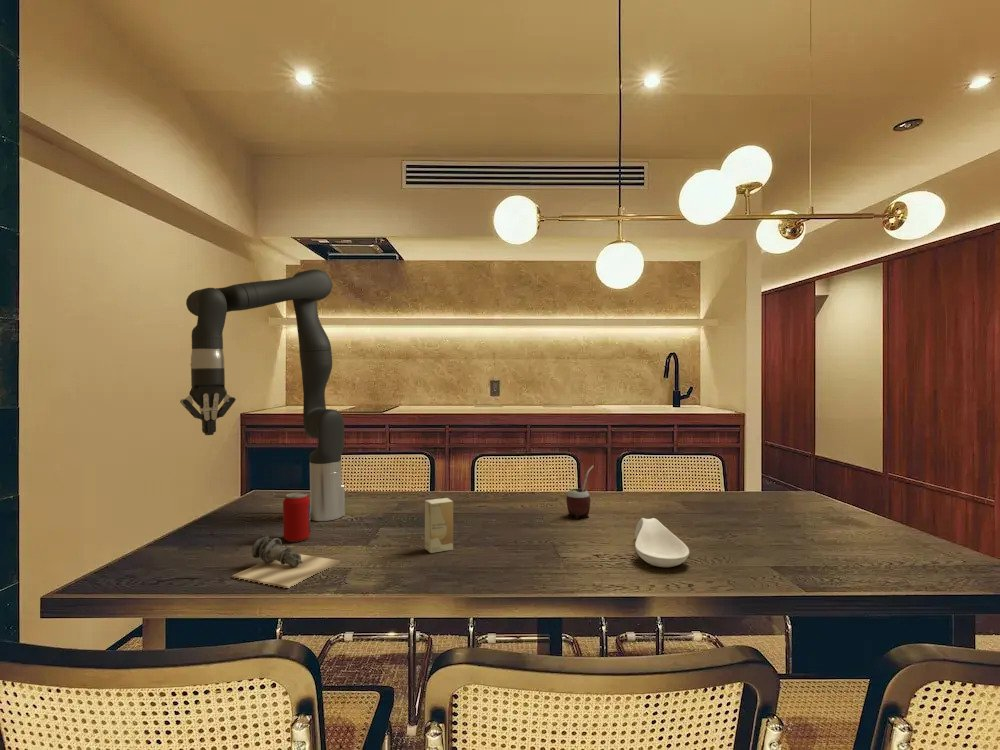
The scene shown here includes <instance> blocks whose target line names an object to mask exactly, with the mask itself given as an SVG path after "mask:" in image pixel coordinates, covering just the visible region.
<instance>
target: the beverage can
mask: <svg viewBox="0 0 1000 750" xmlns="http://www.w3.org/2000/svg"><path fill="white" fill-rule="evenodd" d="M310 511H311V510H310V497H309V495H308V493H307V492H304V491H303V492H292V493H288V494H285V498H284V500H283V502H282V512H283V517H282V518H283V519H282V520H283V521H282V522H283V523H282V524H283V539H284V540H286V541H287V542H288V543H299V541H300V542H304V541H306V540H307V539H308V538H310V537H311V514H310ZM303 540H304V541H303Z"/></svg>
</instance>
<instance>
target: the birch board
mask: <svg viewBox="0 0 1000 750" xmlns="http://www.w3.org/2000/svg"><path fill="white" fill-rule="evenodd" d="M299 554H300V555H301V561H302V562H303V563H301V564H300V563H299V565H297V566H295V567H293V566H291V565H288V564H286V563H285V564H281V563H280V561H277V560H274V561H273V562H272V563H270V564H266V563H264V562H261V563H258V564H256V565H254V566H251V567H249V568H246V569H244V570H240V571H239V572H236V573H234V574H232V575H231V577H234V578H233V579H235V578H239V579H238V580H240V579H244V580H243V581H245V580H248V581H247V582H250V581H252V582H251V583H255V582H258V583H257V584H260V583H263V584H262V585H265V584H268V585H267V586H270V585H273V586H272V587H275V586H278V587H277V588H280V587H283V588H282V589H285V588H289V589H290V587H291V586H293V587H295V586H297V585H299V584H300V583H299V582H301V583H303V582H304V581H303V580H305V579H307V578H309V577H311V576H313V575H315V574H317V573H319V574H321V573H323V572H325V571H327V570H329V569H331V568H333V567H335V566H337V565H339V564H341V560H339V559H333V558H327V557H321V556H313V555H308V554H301V553H299ZM328 568H329V569H328ZM326 569H327V570H326ZM324 570H325V571H324ZM322 571H323V572H322ZM320 572H321V573H320ZM317 575H318V574H317ZM315 576H316V575H315ZM313 577H314V576H313ZM311 578H312V577H311ZM309 579H310V578H309ZM307 580H308V579H307ZM302 581H303V582H302ZM305 581H306V580H305ZM298 583H299V584H298ZM296 584H297V585H296ZM294 585H295V586H294ZM291 588H292V587H291Z"/></svg>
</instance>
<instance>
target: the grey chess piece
mask: <svg viewBox="0 0 1000 750" xmlns="http://www.w3.org/2000/svg"><path fill="white" fill-rule="evenodd" d="M282 543H283V542H282V540H281V539H280V538H278V537H276V538H274V537H273V538H269V535H266V534H262V535H261V536H259V537H258V538H257V539H256V540H255V541H254V544H253V545H252V548H251V556H252V557H254V558H256V559H258V558H260V560H262V561H263V562H264V563H266V564H270V563H272V562H273V561H274V560H277V561H280V563H281V564H285V563H286V564H288V565H291V566H293V567H295V566H297V565H299V563H300V564H301V563H303V562H302V561H301V555H300V554H301V553H297V552H295V551H292V548H285V547H283V545H282ZM263 562H262V563H263Z"/></svg>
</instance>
